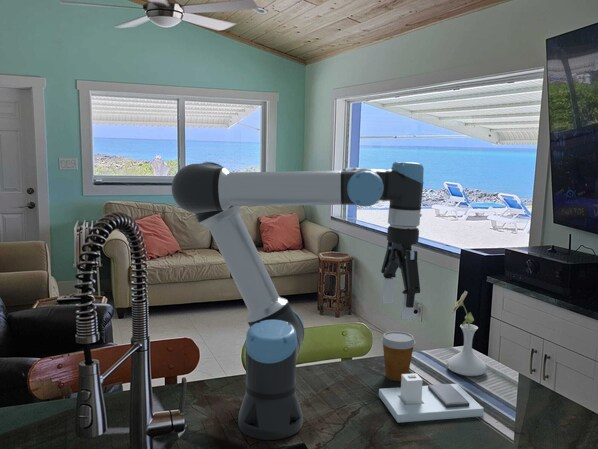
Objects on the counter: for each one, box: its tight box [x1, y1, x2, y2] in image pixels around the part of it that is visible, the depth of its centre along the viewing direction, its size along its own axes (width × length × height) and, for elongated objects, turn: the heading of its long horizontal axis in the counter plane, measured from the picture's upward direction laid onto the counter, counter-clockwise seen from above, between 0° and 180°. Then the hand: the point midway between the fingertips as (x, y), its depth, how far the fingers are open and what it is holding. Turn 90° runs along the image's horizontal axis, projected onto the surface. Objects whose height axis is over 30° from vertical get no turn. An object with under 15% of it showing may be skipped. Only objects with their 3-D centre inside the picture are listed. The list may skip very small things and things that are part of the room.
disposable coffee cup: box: [380, 330, 416, 382], centre depth 152 cm, size 10×10×12 cm
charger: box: [400, 373, 424, 405], centre depth 134 cm, size 4×4×8 cm
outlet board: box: [378, 383, 485, 423], centre depth 135 cm, size 22×14×2 cm, turn 100°
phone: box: [427, 383, 469, 408], centre depth 136 cm, size 6×11×1 cm, turn 10°
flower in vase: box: [446, 290, 488, 377], centre depth 155 cm, size 13×11×25 cm
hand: (396, 311), depth 132 cm, fingers open, 13 cm apart
